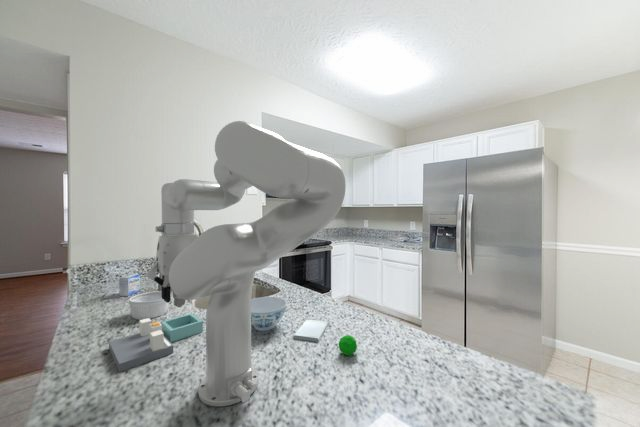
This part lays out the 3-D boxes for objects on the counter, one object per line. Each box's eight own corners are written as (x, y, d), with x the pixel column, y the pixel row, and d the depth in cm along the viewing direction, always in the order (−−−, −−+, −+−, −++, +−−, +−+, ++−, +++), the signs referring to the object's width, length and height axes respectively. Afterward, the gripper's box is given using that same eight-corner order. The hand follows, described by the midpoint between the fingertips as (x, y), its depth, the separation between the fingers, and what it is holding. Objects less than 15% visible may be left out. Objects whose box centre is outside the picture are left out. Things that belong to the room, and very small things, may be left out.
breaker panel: (173, 352, 72) (173, 331, 72) (119, 372, 63) (119, 347, 63) (156, 334, 83) (156, 315, 83) (108, 348, 74) (108, 327, 74)
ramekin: (173, 306, 108) (173, 289, 108) (165, 318, 95) (165, 299, 95) (136, 310, 103) (136, 292, 103) (122, 323, 91) (122, 304, 91)
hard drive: (318, 338, 78) (328, 321, 90) (293, 335, 80) (306, 318, 92) (318, 344, 78) (328, 326, 90) (293, 340, 80) (306, 323, 92)
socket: (202, 331, 84) (202, 321, 84) (170, 342, 77) (170, 330, 77) (191, 323, 91) (191, 313, 91) (161, 332, 84) (160, 321, 84)
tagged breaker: (162, 338, 76) (161, 323, 76) (152, 341, 74) (152, 326, 74) (159, 335, 78) (158, 320, 78) (149, 338, 76) (149, 323, 76)
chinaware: (254, 316, 97) (254, 295, 97) (292, 319, 94) (292, 298, 94) (233, 334, 83) (232, 310, 83) (277, 339, 79) (277, 314, 79)
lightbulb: (181, 311, 65) (181, 267, 65) (160, 310, 66) (160, 267, 66) (197, 304, 71) (197, 263, 71) (178, 302, 72) (178, 263, 72)
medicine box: (128, 296, 120) (128, 277, 120) (118, 296, 120) (118, 277, 120) (140, 291, 128) (140, 273, 128) (131, 291, 128) (131, 273, 128)
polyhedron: (353, 348, 74) (353, 331, 74) (359, 357, 69) (359, 340, 69) (336, 349, 73) (336, 333, 73) (341, 359, 68) (341, 341, 68)
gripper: (144, 232, 60) (145, 311, 60) (216, 228, 72) (217, 293, 72) (136, 231, 65) (137, 303, 65) (205, 227, 77) (206, 288, 77)
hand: (179, 297), depth 68 cm, fingers closed on lightbulb, 5 cm apart
